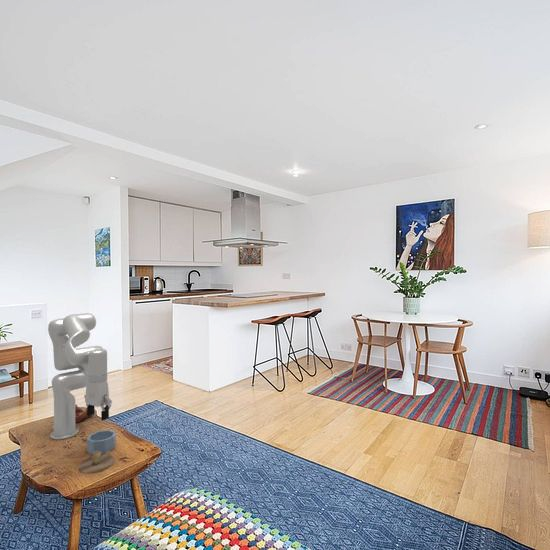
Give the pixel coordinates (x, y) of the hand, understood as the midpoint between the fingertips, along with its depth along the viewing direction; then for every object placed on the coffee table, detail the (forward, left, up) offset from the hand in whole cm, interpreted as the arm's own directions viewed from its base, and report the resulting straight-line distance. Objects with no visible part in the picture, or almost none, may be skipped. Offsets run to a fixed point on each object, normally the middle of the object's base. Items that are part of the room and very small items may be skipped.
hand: (97, 417), depth 152 cm
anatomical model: (-53, +24, -21) cm, 62 cm away
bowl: (-11, +10, -21) cm, 25 cm away
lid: (0, 0, -21) cm, 21 cm away
